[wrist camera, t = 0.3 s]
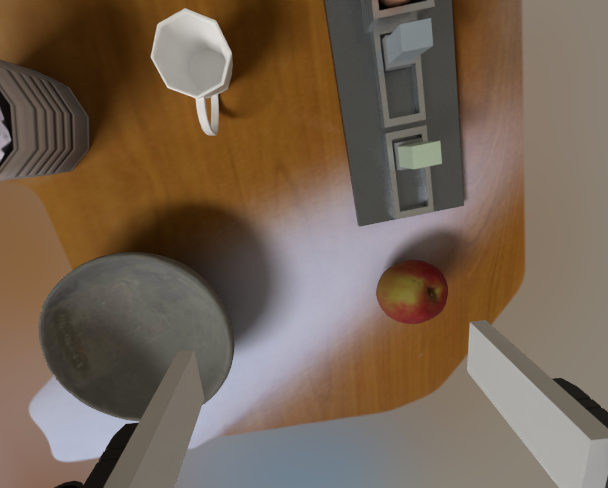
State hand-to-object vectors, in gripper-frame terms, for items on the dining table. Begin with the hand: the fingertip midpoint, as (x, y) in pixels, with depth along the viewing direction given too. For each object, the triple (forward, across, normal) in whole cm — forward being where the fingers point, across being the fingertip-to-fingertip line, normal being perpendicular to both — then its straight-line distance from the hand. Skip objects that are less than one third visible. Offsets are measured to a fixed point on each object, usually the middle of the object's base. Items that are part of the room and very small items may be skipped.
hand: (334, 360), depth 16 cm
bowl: (+27, -20, -10) cm, 35 cm away
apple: (+27, +12, -8) cm, 31 cm away
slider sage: (+26, +12, +8) cm, 30 cm away
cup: (+27, -9, +17) cm, 33 cm away
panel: (+27, +11, +17) cm, 34 cm away
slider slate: (+26, +11, +18) cm, 33 cm away
